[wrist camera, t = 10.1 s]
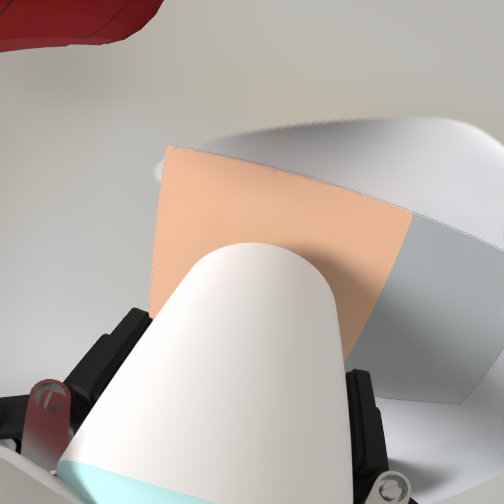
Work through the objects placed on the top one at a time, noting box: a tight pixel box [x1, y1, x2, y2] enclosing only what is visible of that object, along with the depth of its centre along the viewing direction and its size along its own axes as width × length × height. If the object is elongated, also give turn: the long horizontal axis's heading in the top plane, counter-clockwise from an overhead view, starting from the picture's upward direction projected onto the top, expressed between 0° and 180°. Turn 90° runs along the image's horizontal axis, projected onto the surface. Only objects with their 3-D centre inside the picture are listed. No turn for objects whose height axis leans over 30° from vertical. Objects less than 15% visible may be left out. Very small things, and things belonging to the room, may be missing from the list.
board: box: [149, 145, 504, 404], centre depth 15 cm, size 24×12×1 cm, turn 77°
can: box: [56, 243, 353, 504], centre depth 8 cm, size 7×7×12 cm
